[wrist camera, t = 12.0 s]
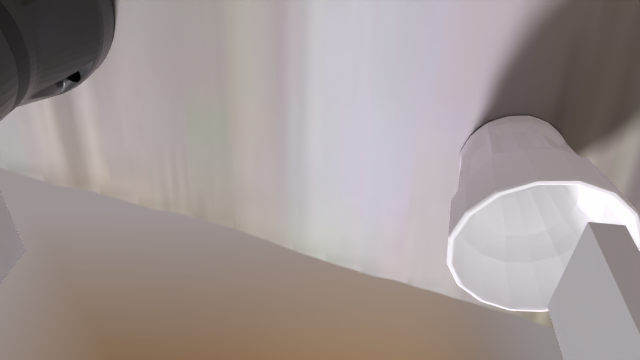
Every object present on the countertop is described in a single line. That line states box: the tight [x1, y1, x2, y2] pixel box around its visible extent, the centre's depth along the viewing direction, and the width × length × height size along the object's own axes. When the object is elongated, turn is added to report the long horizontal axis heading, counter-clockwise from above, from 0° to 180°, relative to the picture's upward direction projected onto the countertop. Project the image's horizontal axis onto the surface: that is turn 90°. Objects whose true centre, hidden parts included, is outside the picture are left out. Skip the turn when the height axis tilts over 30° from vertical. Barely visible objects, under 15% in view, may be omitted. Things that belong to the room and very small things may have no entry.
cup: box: [447, 116, 640, 312], centre depth 39 cm, size 12×12×11 cm
